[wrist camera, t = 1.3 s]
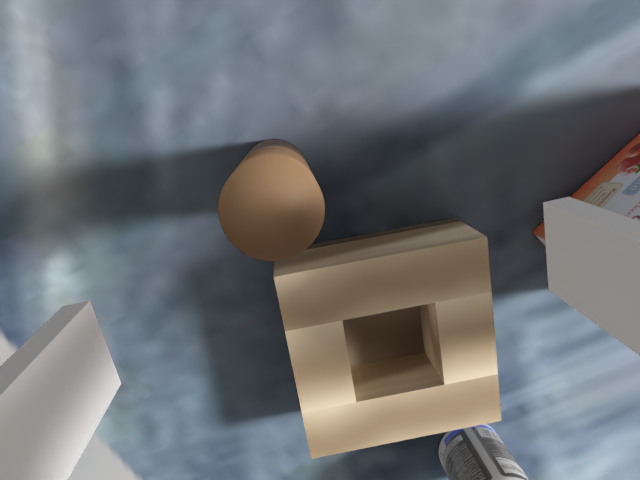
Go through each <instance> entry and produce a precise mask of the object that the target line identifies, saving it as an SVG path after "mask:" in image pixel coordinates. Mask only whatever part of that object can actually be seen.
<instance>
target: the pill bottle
mask: <svg viewBox="0 0 640 480" xmlns="http://www.w3.org/2000/svg"><path fill="white" fill-rule="evenodd" d="M439 458H440V461H441V464H442V466H443V468H444V470H445V472H446V474H447V476H448V479H449V480H529V479H528V478H527V476H526V475H525V474H524V472H523V471H522V469H521V468H520V466H519V465H518V464H517V462H516V461H515V459H514V458H513V456H512V455H511V453H510V452H509V451H508V449H507V448H506V446H505V444H504V443H503V442H502V440H501V439H500V437H499V436H498V435H497V433H496V432H495V431H494V430H493V429H492V428H491V427H490V426H488V425H487V424H482V425H477V426H472V427H467V428H462V429H458V430H453V431H448V432H447V433H446V434H445V435H444V436H443V438H442V440H441V442H440V445H439Z"/></svg>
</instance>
